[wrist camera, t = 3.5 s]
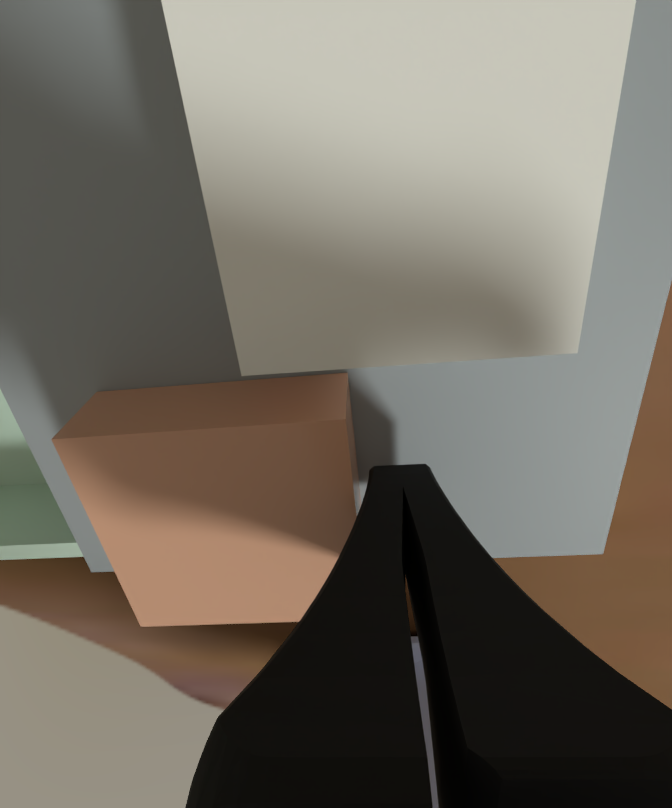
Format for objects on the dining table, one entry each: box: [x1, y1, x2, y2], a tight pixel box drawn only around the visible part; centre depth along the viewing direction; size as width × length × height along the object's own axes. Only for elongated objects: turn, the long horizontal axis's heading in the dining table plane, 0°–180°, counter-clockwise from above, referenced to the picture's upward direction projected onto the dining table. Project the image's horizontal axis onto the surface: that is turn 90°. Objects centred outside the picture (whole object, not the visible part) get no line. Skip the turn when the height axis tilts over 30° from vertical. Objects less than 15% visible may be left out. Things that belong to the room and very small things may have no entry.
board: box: [0, 0, 672, 572], centre depth 12 cm, size 14×15×4 cm
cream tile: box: [161, 0, 636, 376], centre depth 8 cm, size 6×6×2 cm
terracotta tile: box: [51, 373, 361, 627], centre depth 12 cm, size 6×6×2 cm
